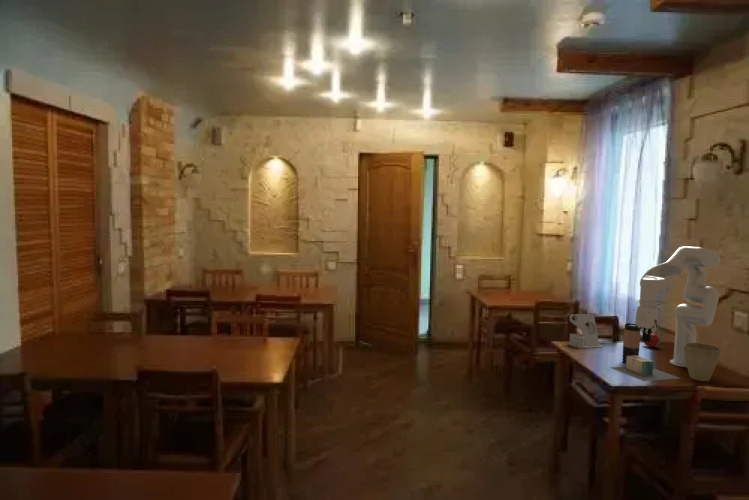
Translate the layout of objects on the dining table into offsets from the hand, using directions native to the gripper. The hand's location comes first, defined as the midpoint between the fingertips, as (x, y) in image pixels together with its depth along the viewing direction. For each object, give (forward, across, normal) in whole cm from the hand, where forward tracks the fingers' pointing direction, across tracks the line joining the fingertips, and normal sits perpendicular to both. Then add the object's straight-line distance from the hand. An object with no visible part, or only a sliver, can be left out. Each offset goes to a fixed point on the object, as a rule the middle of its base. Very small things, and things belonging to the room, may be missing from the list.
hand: (646, 341), depth 270 cm
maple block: (+12, +3, -1) cm, 12 cm away
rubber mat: (+16, +1, -1) cm, 16 cm away
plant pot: (+16, +14, +19) cm, 29 cm away
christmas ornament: (+18, -44, +47) cm, 66 cm away
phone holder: (+17, -53, +8) cm, 56 cm away
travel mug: (+16, -17, +7) cm, 24 cm away
